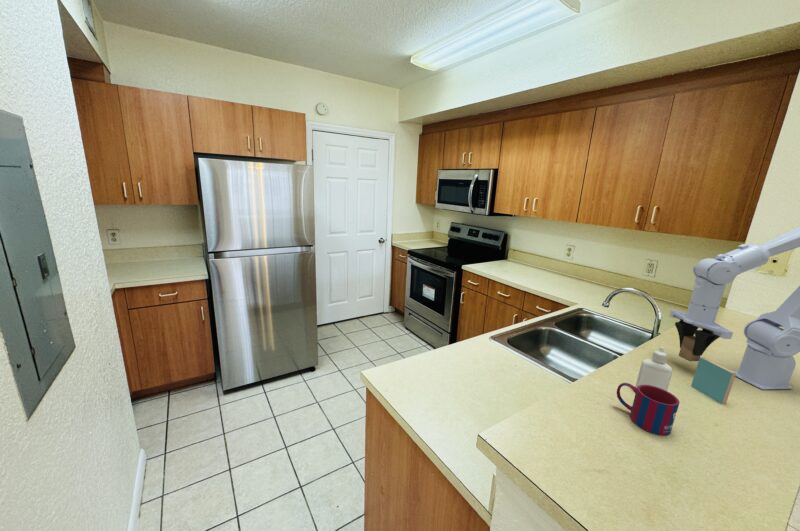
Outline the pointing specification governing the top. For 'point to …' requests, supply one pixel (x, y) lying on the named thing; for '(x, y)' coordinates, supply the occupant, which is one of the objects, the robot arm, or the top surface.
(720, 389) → the tile
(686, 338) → the block
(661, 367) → the eye dropper bottle
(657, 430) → the mug
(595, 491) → the top surface
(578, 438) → the top surface
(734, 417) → the top surface
